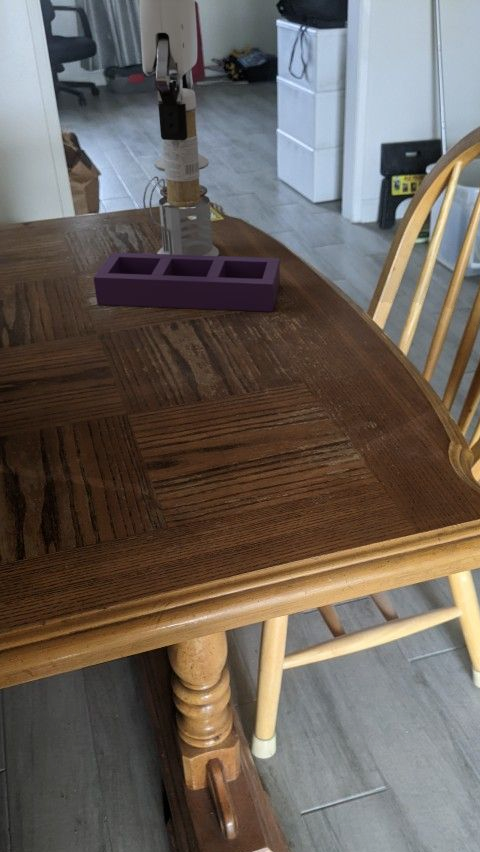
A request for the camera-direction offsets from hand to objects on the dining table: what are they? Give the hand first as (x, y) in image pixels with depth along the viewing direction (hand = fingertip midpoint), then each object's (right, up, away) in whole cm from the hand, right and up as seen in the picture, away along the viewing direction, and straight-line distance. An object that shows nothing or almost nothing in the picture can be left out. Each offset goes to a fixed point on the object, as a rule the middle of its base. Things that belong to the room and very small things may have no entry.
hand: (178, 132), depth 97 cm
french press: (-2, -8, +25) cm, 27 cm away
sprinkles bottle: (0, -7, +5) cm, 9 cm away
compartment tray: (0, -17, +13) cm, 21 cm away
